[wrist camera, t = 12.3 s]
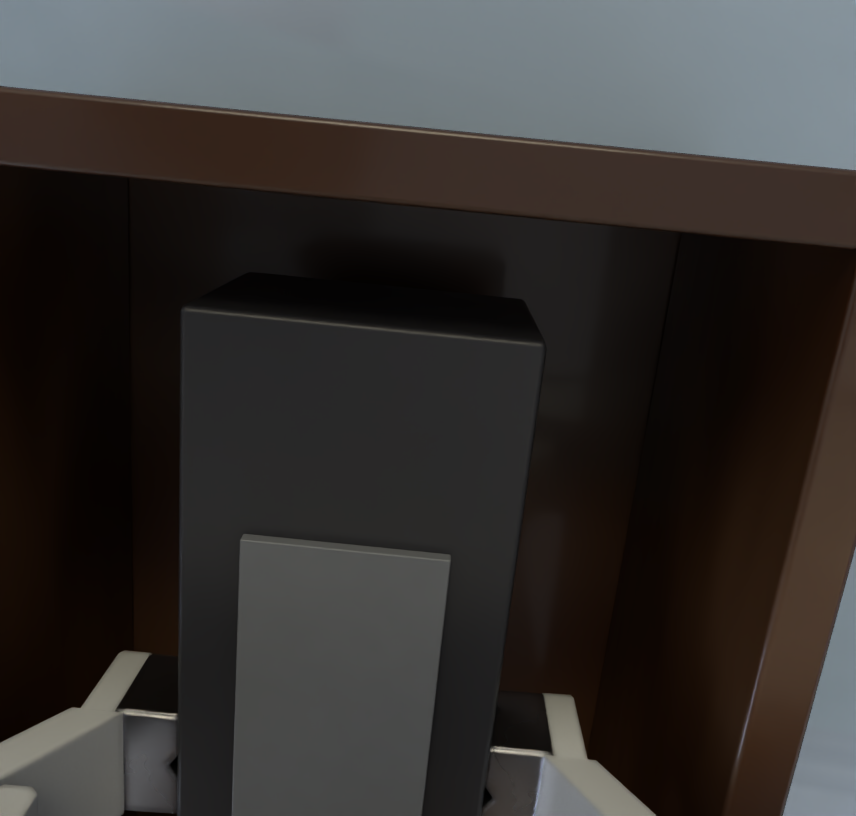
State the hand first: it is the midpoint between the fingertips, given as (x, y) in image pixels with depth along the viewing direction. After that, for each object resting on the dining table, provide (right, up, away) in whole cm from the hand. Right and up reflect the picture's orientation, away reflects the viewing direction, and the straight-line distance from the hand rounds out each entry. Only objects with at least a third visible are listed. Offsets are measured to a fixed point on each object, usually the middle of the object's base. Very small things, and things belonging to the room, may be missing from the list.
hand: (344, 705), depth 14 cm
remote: (0, 0, +1) cm, 2 cm away
